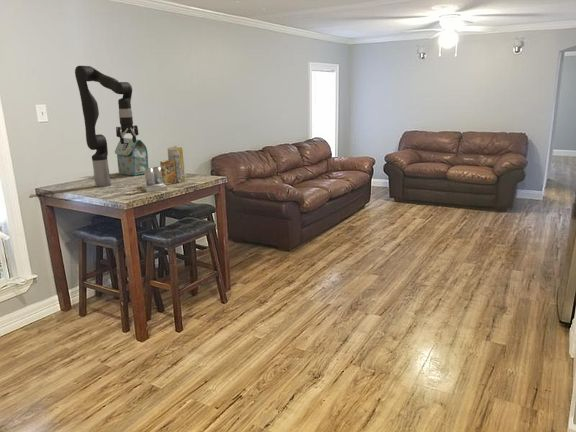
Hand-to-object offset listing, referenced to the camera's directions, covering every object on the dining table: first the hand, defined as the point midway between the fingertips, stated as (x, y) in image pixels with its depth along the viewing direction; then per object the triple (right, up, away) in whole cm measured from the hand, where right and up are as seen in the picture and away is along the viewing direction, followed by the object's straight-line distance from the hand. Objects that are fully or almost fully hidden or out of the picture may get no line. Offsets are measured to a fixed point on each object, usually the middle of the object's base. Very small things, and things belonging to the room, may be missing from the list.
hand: (128, 143), depth 276 cm
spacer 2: (+17, -24, +4) cm, 30 cm away
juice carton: (+24, -22, +27) cm, 42 cm away
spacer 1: (+14, -26, -1) cm, 29 cm away
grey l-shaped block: (+15, -28, +4) cm, 32 cm away
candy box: (+20, -24, +20) cm, 37 cm away
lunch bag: (-18, -13, +63) cm, 67 cm away
